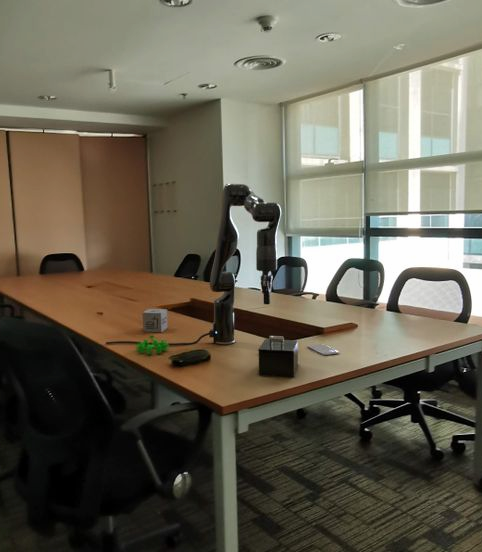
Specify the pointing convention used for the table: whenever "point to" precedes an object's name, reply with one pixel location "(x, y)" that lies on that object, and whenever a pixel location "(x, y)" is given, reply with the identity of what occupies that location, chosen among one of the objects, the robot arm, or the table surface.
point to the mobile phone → (323, 349)
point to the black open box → (278, 363)
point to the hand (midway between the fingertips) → (266, 304)
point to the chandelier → (152, 346)
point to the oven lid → (278, 345)
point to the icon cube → (155, 320)
